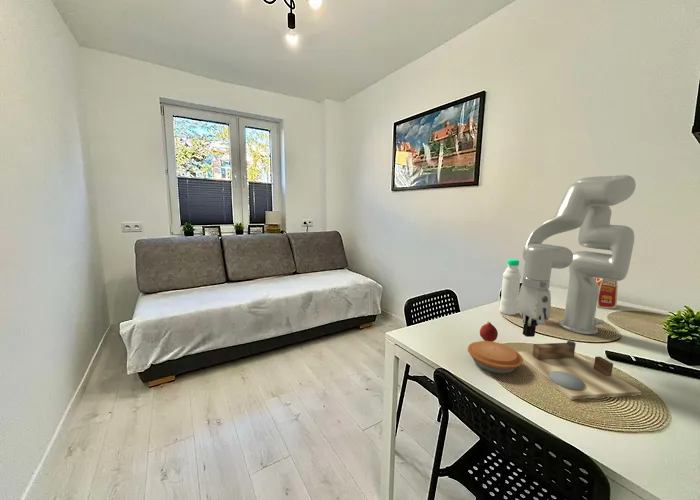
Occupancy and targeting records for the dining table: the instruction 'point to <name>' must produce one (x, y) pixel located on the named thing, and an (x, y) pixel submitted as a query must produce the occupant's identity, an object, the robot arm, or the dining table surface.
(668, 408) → the dining table surface
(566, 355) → the leg
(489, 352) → the pie
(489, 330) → the onion
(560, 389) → the board
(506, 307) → the white milk bottle
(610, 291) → the milk carton
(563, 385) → the felt pad
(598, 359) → the block
